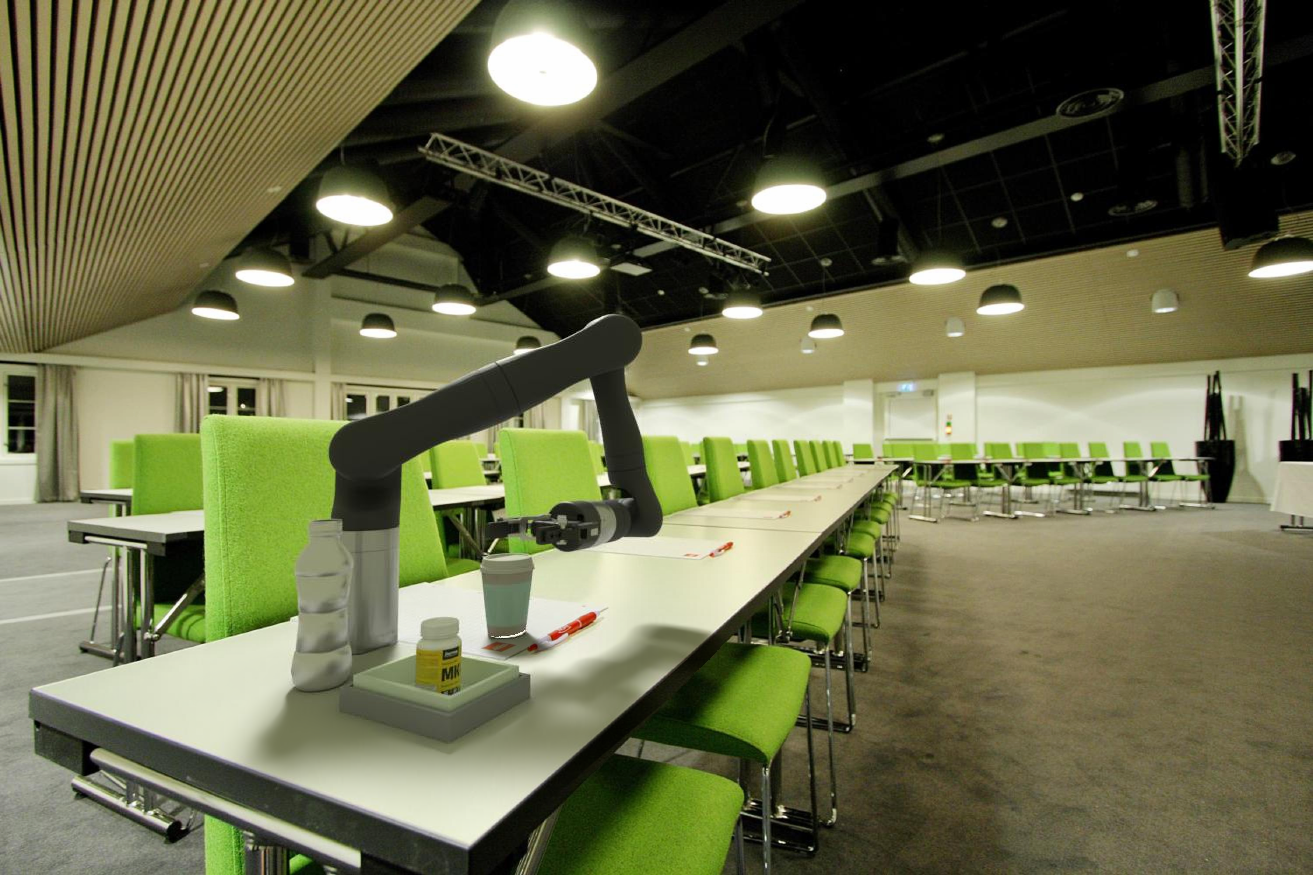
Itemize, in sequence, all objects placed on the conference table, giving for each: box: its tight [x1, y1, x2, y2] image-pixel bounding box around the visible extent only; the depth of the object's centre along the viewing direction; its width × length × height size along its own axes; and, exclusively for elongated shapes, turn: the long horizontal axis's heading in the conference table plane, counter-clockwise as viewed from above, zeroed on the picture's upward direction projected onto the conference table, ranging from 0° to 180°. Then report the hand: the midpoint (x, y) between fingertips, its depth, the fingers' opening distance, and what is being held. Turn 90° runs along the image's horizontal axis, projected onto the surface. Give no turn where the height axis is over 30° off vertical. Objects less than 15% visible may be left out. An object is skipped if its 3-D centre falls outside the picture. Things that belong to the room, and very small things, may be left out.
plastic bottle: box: [290, 518, 354, 693], centre depth 70 cm, size 6×7×20 cm
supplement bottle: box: [415, 616, 463, 696], centre depth 64 cm, size 5×5×8 cm
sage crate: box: [352, 652, 520, 713], centre depth 64 cm, size 14×10×4 cm
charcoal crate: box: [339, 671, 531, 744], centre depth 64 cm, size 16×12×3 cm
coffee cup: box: [478, 552, 536, 637], centre depth 92 cm, size 8×9×12 cm
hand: (512, 533), depth 76 cm, fingers open, 8 cm apart
